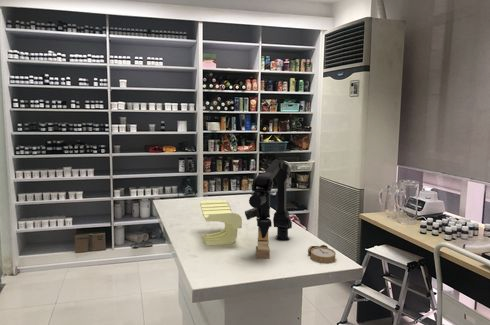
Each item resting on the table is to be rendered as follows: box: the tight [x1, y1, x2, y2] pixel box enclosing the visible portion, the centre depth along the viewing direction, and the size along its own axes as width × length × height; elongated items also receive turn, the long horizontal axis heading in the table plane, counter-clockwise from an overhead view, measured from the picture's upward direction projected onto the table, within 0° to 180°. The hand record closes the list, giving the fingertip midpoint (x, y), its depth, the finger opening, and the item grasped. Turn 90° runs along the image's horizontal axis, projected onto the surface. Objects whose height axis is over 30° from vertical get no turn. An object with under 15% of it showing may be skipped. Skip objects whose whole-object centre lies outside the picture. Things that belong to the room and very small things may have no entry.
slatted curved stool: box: [199, 199, 243, 246], centre depth 201 cm, size 30×16×18 cm, turn 14°
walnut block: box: [255, 245, 271, 260], centre depth 179 cm, size 6×6×4 cm
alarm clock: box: [307, 244, 337, 264], centre depth 179 cm, size 11×5×15 cm
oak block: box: [257, 237, 270, 250], centre depth 178 cm, size 5×5×4 cm
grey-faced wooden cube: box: [257, 226, 269, 241], centre depth 178 cm, size 4×4×5 cm
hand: (263, 236), depth 178 cm, fingers closed on grey-faced wooden cube, 4 cm apart
